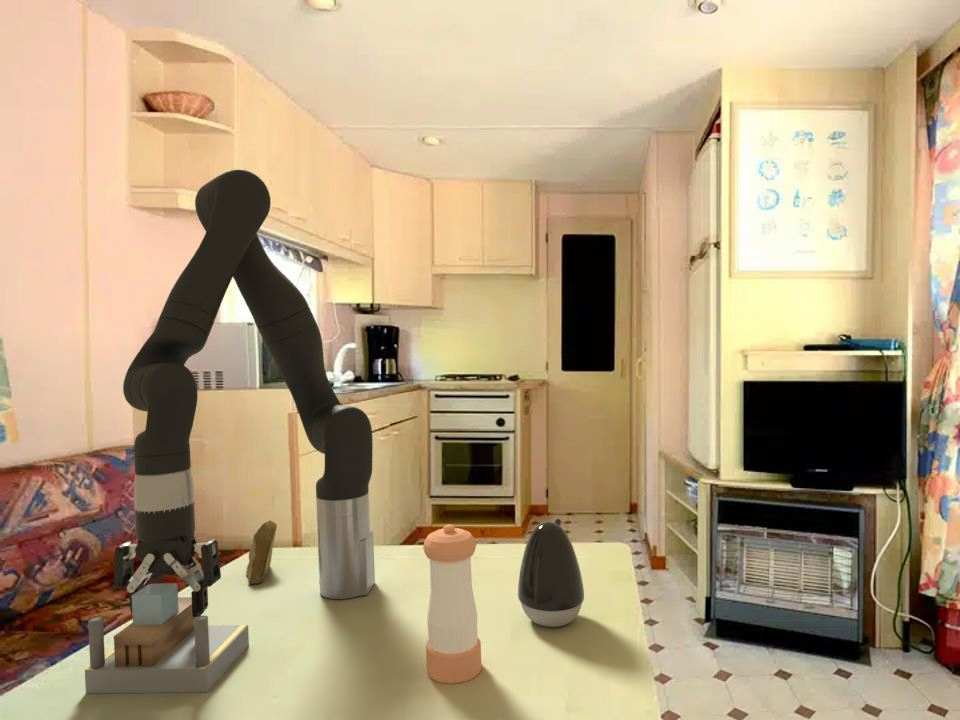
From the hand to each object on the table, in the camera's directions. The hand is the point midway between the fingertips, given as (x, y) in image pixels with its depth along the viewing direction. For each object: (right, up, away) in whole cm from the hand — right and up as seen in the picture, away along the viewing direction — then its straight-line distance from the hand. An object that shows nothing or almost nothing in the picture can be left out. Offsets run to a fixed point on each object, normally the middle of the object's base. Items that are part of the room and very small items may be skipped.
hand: (169, 615), depth 84 cm
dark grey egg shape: (+56, -4, +7) cm, 56 cm away
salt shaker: (+41, -5, -6) cm, 42 cm away
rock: (+1, -6, +31) cm, 32 cm away
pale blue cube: (0, +1, -3) cm, 3 cm away
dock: (+2, -6, -3) cm, 7 cm away
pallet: (0, -3, -2) cm, 4 cm away
